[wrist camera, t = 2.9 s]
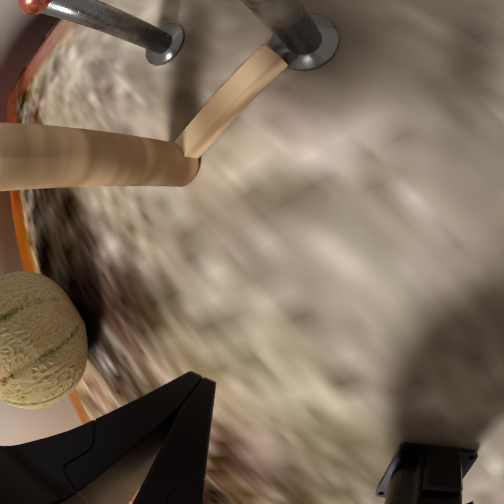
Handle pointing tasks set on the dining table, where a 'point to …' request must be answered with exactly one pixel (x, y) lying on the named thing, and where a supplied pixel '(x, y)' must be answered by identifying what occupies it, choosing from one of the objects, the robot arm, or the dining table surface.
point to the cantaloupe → (38, 341)
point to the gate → (127, 142)
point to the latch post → (113, 25)
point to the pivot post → (297, 32)
